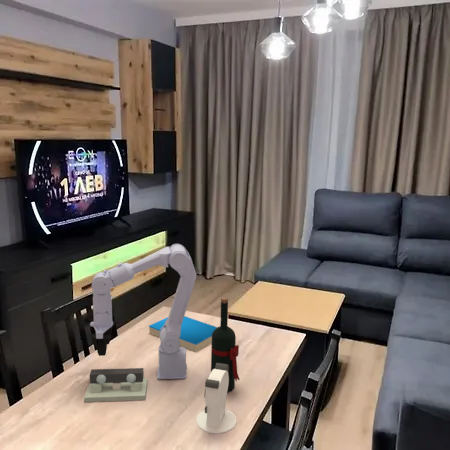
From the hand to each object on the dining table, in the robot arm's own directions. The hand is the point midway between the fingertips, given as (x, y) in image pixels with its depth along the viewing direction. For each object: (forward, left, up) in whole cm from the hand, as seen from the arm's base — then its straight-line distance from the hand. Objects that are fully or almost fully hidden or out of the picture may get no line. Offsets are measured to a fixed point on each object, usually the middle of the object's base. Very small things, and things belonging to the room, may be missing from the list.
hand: (104, 349), depth 145 cm
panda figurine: (-35, +24, -11) cm, 44 cm away
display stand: (-5, +8, -10) cm, 14 cm away
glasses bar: (-5, +8, -6) cm, 11 cm away
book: (-27, -31, -11) cm, 42 cm away
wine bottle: (-39, +8, -11) cm, 41 cm away
